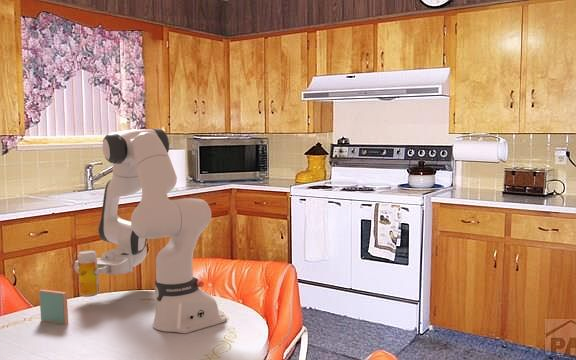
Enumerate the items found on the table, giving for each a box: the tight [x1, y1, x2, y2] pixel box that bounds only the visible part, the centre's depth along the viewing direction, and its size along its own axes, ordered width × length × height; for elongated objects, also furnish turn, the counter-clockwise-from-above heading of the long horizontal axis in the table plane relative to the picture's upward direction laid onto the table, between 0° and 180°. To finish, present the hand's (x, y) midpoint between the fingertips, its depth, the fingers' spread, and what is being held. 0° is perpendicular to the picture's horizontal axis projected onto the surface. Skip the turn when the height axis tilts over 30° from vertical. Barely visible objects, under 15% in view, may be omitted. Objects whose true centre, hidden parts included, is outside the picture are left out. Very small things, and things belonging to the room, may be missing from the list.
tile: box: [38, 289, 69, 325], centre depth 172 cm, size 1×10×10 cm, turn 69°
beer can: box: [77, 249, 100, 298], centre depth 187 cm, size 6×6×15 cm
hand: (86, 271), depth 186 cm, fingers closed on beer can, 6 cm apart
